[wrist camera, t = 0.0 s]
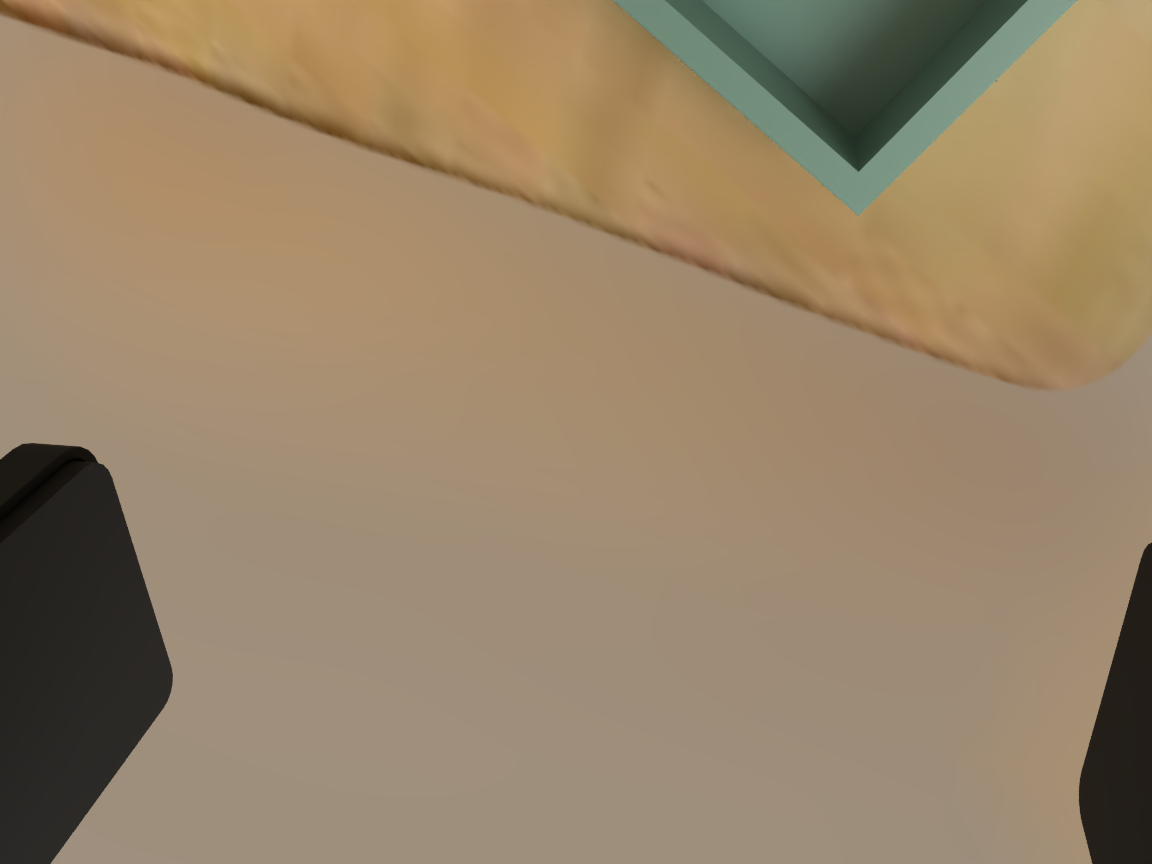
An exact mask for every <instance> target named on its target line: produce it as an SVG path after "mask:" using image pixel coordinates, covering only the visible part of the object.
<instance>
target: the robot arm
mask: <svg viewBox="0 0 1152 864" xmlns="http://www.w3.org/2000/svg"><path fill="white" fill-rule="evenodd" d="M172 679H173V674H172V668H171V664H170V661H169V658H168V655H167V651H166V648H165V645H164V642H163V639H162V635H161V632H160V629H159V626H158V623H157V620H156V616H155V613H154V610H153V607H152V604H151V601H150V597H149V594H148V591H147V588H146V585H145V581H144V578H143V575H142V572H141V569H140V565H139V563H138V559H137V556H136V553H135V549H134V546H133V543H132V540H131V537H130V534H129V530H128V527H127V524H126V521H125V518H124V514H123V511H122V508H121V505H120V502H119V498H118V495H117V492H116V489H115V486H114V483H113V479H112V477H111V475H110V472H109V470H108V469H107V468H106V467H105V466H104V465H102V464H99V463H98V462H97V460H96V458H95V456H94V455H93V454H92V453H91V452H90V451H89V450H87V449H84V448H82V447H77V446H64V445H50V444H36V443H30V444H22V445H20V446H18V447H16V448H15V449H13V450H12V451H11V452H9V453H8V454H7V455H5V456H4V457H3V458H2V459H0V864H51V862H52V861H53V859H54V858H55V856H56V855H57V854H58V853H59V851H60V850H61V848H62V847H63V846H64V844H65V843H66V842H67V840H68V839H69V837H70V836H71V835H72V833H73V832H74V831H75V829H76V828H77V826H78V825H79V824H80V822H81V821H82V819H83V818H84V816H85V815H86V814H87V813H88V811H89V810H90V808H91V807H92V806H93V804H94V803H95V802H96V800H97V799H98V797H99V796H100V795H101V793H102V792H103V791H104V789H105V788H106V786H107V785H108V784H109V782H110V781H111V780H112V778H113V777H114V775H115V774H116V773H117V771H118V770H119V769H120V767H121V766H122V764H123V763H124V762H125V760H126V759H127V758H128V756H129V755H130V753H131V752H132V750H133V749H134V748H135V746H136V745H137V744H138V742H139V741H140V740H141V738H142V737H143V735H144V734H145V733H146V731H147V730H148V729H149V727H150V726H151V725H152V723H153V722H154V720H155V719H156V717H157V716H158V715H159V713H160V712H161V711H162V709H163V708H164V706H165V704H166V703H167V701H168V698H169V695H170V693H171V688H172V681H173V680H172ZM1079 806H1080V814H1081V820H1082V824H1083V828H1084V832H1085V836H1086V840H1087V844H1088V848H1089V851H1090V856H1091V859H1092V863H1093V864H1152V543H1150V544H1148V546H1147V547H1146V548H1145V550H1144V552H1143V555H1142V558H1141V561H1140V564H1139V569H1138V572H1137V575H1136V579H1135V582H1134V586H1133V590H1132V593H1131V597H1130V600H1129V604H1128V608H1127V611H1126V615H1125V618H1124V622H1123V625H1122V629H1121V632H1120V636H1119V640H1118V643H1117V647H1116V650H1115V654H1114V658H1113V661H1112V665H1111V668H1110V672H1109V675H1108V679H1107V682H1106V686H1105V690H1104V693H1103V697H1102V701H1101V704H1100V708H1099V711H1098V715H1097V718H1096V722H1095V725H1094V729H1093V732H1092V736H1091V740H1090V743H1089V747H1088V750H1087V754H1086V758H1085V761H1084V765H1083V768H1082V772H1081V777H1080V785H1079Z"/></svg>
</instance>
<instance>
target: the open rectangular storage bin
mask: <svg viewBox="0 0 1152 864" xmlns="http://www.w3.org/2000/svg"><path fill="white" fill-rule="evenodd" d="M613 1H614V2H615V3H616V4H618V5H619V6H620V7H621V8H622V9H623V10H624V11H626V12H627V13H628V14H629V15H630V16H631V17H632V18H634V19H635V20H636V21H637V22H638V23H639V24H640V25H642V26H643V27H644V28H645V29H646V30H647V31H648V32H649V33H651V34H652V35H653V36H654V37H655V38H656V39H657V40H659V41H660V42H661V43H662V44H663V45H664V46H665V47H667V48H668V49H669V50H670V51H671V52H672V53H673V54H675V55H676V56H677V57H678V58H679V59H680V60H681V61H683V62H684V63H685V64H686V65H687V66H688V67H689V68H690V69H692V70H693V71H694V72H695V73H696V74H697V75H698V76H700V77H701V78H702V79H703V80H704V81H705V82H706V83H708V84H709V85H710V86H711V87H712V88H713V89H714V90H716V91H717V92H718V93H719V94H720V95H721V96H722V97H724V98H725V99H726V100H727V101H728V102H729V103H730V104H731V105H733V106H734V107H735V108H736V109H737V110H738V111H739V112H741V113H742V114H743V115H744V116H745V117H746V118H747V119H749V120H750V121H751V122H752V123H753V124H754V125H755V126H757V127H758V128H759V129H760V130H761V131H762V132H763V133H765V134H766V135H767V136H768V137H769V138H770V139H771V140H773V141H774V142H775V143H776V144H777V145H778V146H779V147H780V148H782V149H783V150H784V151H785V152H786V153H787V154H788V155H790V156H791V157H792V158H793V159H794V160H795V161H796V162H798V163H799V164H800V165H801V166H802V167H803V168H804V169H806V170H807V171H808V172H809V173H810V174H811V175H812V176H814V177H815V178H816V179H817V180H818V181H819V182H820V183H821V184H823V185H824V186H825V187H826V188H827V189H828V190H829V191H831V192H832V193H833V194H834V195H835V196H836V197H837V198H839V199H840V200H841V201H842V202H843V203H844V204H845V205H847V206H848V207H849V208H850V209H851V210H852V211H853V212H855V213H856V214H857V215H858V216H859V215H860V214H861V213H862V212H863V211H864V210H865V209H866V208H867V207H868V206H869V205H870V204H871V203H872V202H873V201H874V200H875V199H876V198H877V197H878V196H879V195H880V194H881V193H882V192H883V191H884V190H885V189H886V188H887V187H888V186H889V185H890V184H891V183H892V182H893V181H894V180H895V179H896V178H897V177H898V176H899V175H900V174H901V173H902V172H903V171H904V170H905V169H906V168H907V167H908V166H909V165H910V164H912V163H913V162H914V161H915V160H916V159H917V158H918V157H919V156H920V155H921V154H922V153H923V152H924V151H925V150H926V149H927V148H928V147H929V146H930V145H931V144H932V143H933V142H934V141H935V140H936V139H937V138H938V137H939V136H940V135H941V134H942V133H943V132H944V131H945V130H946V129H947V128H948V127H949V126H950V125H951V124H952V123H953V122H954V121H955V120H956V119H957V118H958V117H959V116H960V115H961V114H962V113H963V112H964V111H965V110H966V109H967V108H968V107H969V106H970V105H971V104H972V103H973V102H974V101H975V100H976V99H977V98H978V97H979V96H981V95H982V94H983V93H984V92H985V91H986V90H987V89H988V88H989V87H990V86H991V85H992V84H993V83H994V82H995V81H996V80H997V79H998V78H999V77H1000V76H1001V75H1002V74H1003V73H1004V72H1005V71H1006V70H1007V69H1008V68H1009V67H1010V66H1011V65H1012V64H1013V63H1014V62H1015V61H1016V60H1017V59H1018V58H1019V57H1020V56H1021V55H1022V54H1023V53H1024V52H1025V51H1026V50H1027V49H1028V48H1029V47H1030V46H1031V45H1032V44H1033V43H1034V42H1035V41H1036V40H1037V39H1038V38H1039V37H1040V36H1041V35H1042V34H1043V33H1044V32H1045V31H1046V30H1047V29H1049V28H1050V27H1051V26H1052V25H1053V24H1054V23H1055V22H1056V21H1057V20H1058V19H1059V18H1060V17H1061V16H1062V15H1063V14H1064V13H1065V12H1066V11H1067V10H1068V9H1069V8H1070V7H1071V6H1072V5H1073V4H1074V3H1075V2H1076V1H1077V0H613Z"/></svg>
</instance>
